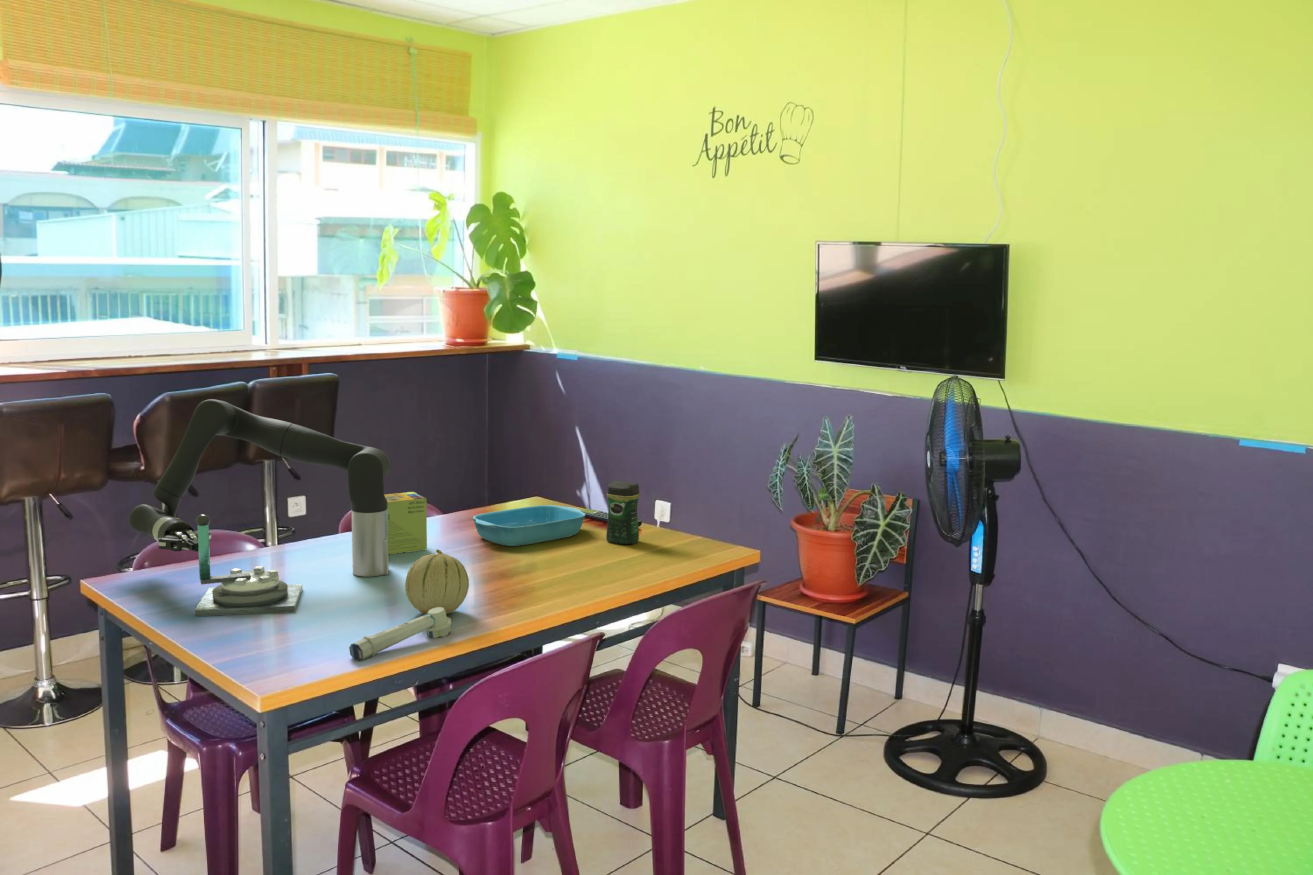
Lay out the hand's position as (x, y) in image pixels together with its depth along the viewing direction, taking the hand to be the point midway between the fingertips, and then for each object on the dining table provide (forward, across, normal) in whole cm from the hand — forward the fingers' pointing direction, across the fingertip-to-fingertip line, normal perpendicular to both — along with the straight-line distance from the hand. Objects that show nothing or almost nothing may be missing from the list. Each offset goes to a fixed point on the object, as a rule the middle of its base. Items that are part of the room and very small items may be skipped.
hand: (198, 547), depth 258 cm
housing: (+6, +10, +14) cm, 18 cm away
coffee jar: (+14, +120, +14) cm, 122 cm away
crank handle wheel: (+5, +7, +10) cm, 14 cm away
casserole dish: (-8, +102, +14) cm, 103 cm away
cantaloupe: (+41, +40, +14) cm, 59 cm away
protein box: (-18, +62, +14) cm, 66 cm away
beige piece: (+55, +24, +14) cm, 62 cm away
